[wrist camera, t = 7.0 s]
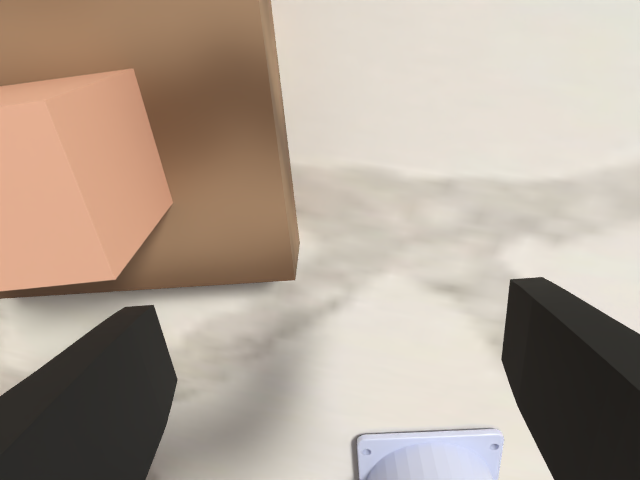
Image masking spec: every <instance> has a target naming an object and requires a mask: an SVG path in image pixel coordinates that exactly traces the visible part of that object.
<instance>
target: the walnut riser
mask: <svg viewBox="0 0 640 480" xmlns="http://www.w3.org/2000/svg"><path fill="white" fill-rule="evenodd" d="M125 69H134V72H135V76H136V79H137V83H138V86H139V89H140V93H141V96H142V100H143V103H144V106H145V110H146V113H147V116H148V120H149V123H150V127H151V130H152V133H153V137H154V140H155V144H156V147H157V150H158V154H159V157H160V160H161V164H162V167H163V171H164V174H165V177H166V181H167V184H168V188H169V191H170V194H171V198H172V201H173V204H172V205H171V206H170V208H169V209H168V210H167V212H166V213H165V214H164V216H163V217H162V218H161V220H160V221H159V222H158V224H157V225H156V226H155V228H154V229H153V230H152V232H151V233H150V234H149V236H148V237H147V238H146V240H145V241H144V242H143V244H142V245H141V246H140V248H139V249H138V250H137V252H136V253H135V254H134V256H133V257H132V258H131V260H130V261H129V262H128V264H127V265H126V266H125V268H124V269H123V270H122V272H121V273H120V274H119V276H118V277H117V278H116V280H107V281H97V282H87V283H78V284H68V285H58V286H48V287H39V288H29V289H19V290H9V291H0V299H1V298H17V297H33V296H49V295H65V294H81V293H97V292H113V291H129V290H145V289H161V288H177V287H193V286H209V285H225V284H241V283H257V282H273V281H289V280H295V277H296V269H297V261H298V253H299V244H300V242H299V234H298V225H297V217H296V208H295V200H294V192H293V183H292V175H291V167H290V158H289V150H288V142H287V133H286V125H285V116H284V108H283V100H282V91H281V83H280V75H279V66H278V58H277V50H276V41H275V33H274V24H273V16H272V8H271V0H0V86H6V85H14V84H21V83H29V82H36V81H44V80H51V79H58V78H66V77H73V76H81V75H88V74H96V73H103V72H110V71H118V70H125Z"/></svg>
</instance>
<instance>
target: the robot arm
mask: <svg viewBox="0 0 640 480" xmlns="http://www.w3.org/2000/svg"><path fill="white" fill-rule="evenodd" d="M501 360H502V363H503V366H504V369H505V372H506V375H507V378H508V381H509V384H510V387H511V389H512V392H513V395H514V398H515V400H516V403H517V406H518V408H519V410H520V412H521V414H522V416H523V418H524V420H525V422H526V424H527V426H528V428H529V430H530V432H531V434H532V436H533V438H534V440H535V442H536V444H537V446H538V448H539V450H540V452H541V454H542V456H543V458H544V460H545V462H546V464H547V466H548V468H549V470H550V472H551V474H552V476H553V478H554V480H640V334H638V333H637V332H635V331H633V330H632V329H630V328H628V327H626V326H625V325H623V324H621V323H620V322H618V321H616V320H615V319H613V318H611V317H610V316H608V315H606V314H605V313H603V312H601V311H600V310H598V309H596V308H595V307H593V306H591V305H590V304H588V303H586V302H585V301H583V300H581V299H580V298H578V297H576V296H575V295H573V294H571V293H570V292H568V291H566V290H565V289H563V288H561V287H559V286H558V285H556V284H554V283H552V282H550V281H549V280H547V279H545V278H543V277H538V278H524V279H510V286H509V295H508V304H507V314H506V323H505V332H504V341H503V350H502V359H501ZM176 384H177V377H176V374H175V371H174V367H173V364H172V361H171V358H170V355H169V352H168V349H167V345H166V342H165V339H164V336H163V333H162V330H161V326H160V323H159V320H158V317H157V314H156V311H155V308H154V305H146V306H132V307H124V308H123V309H121V310H119V311H118V312H116V313H115V314H113V315H112V316H110V317H109V318H107V319H106V320H105V321H103V322H102V323H100V324H99V325H98V326H96V327H95V328H94V329H92V330H91V331H89V332H88V333H87V334H85V335H84V336H83V337H81V338H80V339H79V340H77V341H76V342H75V343H73V344H72V345H71V346H69V347H68V348H67V349H65V350H64V351H63V352H61V353H60V354H59V355H57V356H56V357H54V358H53V359H52V360H50V361H49V362H48V363H46V364H45V365H44V366H42V367H41V368H40V369H38V370H37V371H36V372H34V373H33V374H31V375H30V376H29V377H27V378H26V379H24V380H23V381H21V382H20V383H19V384H17V385H16V386H14V387H13V388H11V389H10V390H8V391H7V392H6V393H4V394H3V395H1V396H0V480H145V479H146V476H147V474H148V471H149V469H150V466H151V464H152V461H153V459H154V456H155V453H156V451H157V448H158V446H159V443H160V441H161V438H162V435H163V433H164V430H165V427H166V424H167V420H168V416H169V413H170V409H171V405H172V401H173V397H174V392H175V388H176ZM503 444H504V437H503V434H502V432H501V431H500V430H498V429H480V430H457V431H434V432H410V433H387V434H365V435H361V436H359V437H358V439H357V453H358V469H359V480H498V476H499V470H500V463H501V457H502V450H503Z"/></svg>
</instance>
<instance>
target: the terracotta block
mask: <svg viewBox="0 0 640 480" xmlns="http://www.w3.org/2000/svg"><path fill="white" fill-rule="evenodd" d="M172 204H173V201H172V198H171V194H170V191H169V188H168V184H167V181H166V177H165V174H164V171H163V167H162V164H161V160H160V157H159V154H158V150H157V147H156V144H155V140H154V137H153V133H152V130H151V127H150V123H149V120H148V116H147V113H146V110H145V106H144V103H143V100H142V96H141V93H140V89H139V86H138V83H137V79H136V76H135V72H134V69H125V70H118V71H110V72H103V73H96V74H88V75H81V76H73V77H66V78H58V79H51V80H44V81H36V82H29V83H21V84H14V85H6V86H0V291H9V290H19V289H29V288H39V287H48V286H58V285H68V284H78V283H87V282H97V281H107V280H116V278H117V277H118V276H119V274H120V273H121V272H122V270H123V269H124V268H125V266H126V265H127V264H128V262H129V261H130V260H131V258H132V257H133V256H134V254H135V253H136V252H137V250H138V249H139V248H140V246H141V245H142V244H143V242H144V241H145V240H146V238H147V237H148V236H149V234H150V233H151V232H152V230H153V229H154V228H155V226H156V225H157V224H158V222H159V221H160V220H161V218H162V217H163V216H164V214H165V213H166V212H167V210H168V209H169V208H170V206H171V205H172Z"/></svg>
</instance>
